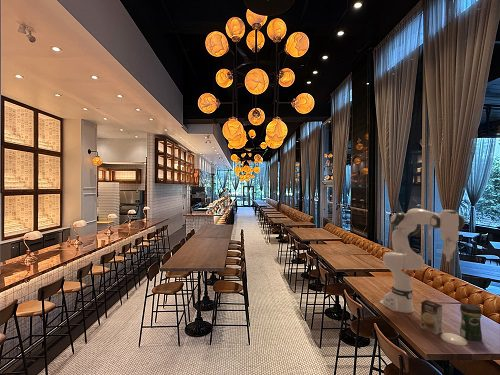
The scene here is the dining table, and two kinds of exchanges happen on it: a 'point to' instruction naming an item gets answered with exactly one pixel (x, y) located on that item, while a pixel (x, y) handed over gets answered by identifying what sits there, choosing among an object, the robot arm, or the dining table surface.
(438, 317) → the coffee box
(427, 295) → the dining table surface
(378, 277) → the dining table surface
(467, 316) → the coffee jar
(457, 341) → the cream glossy domed part
